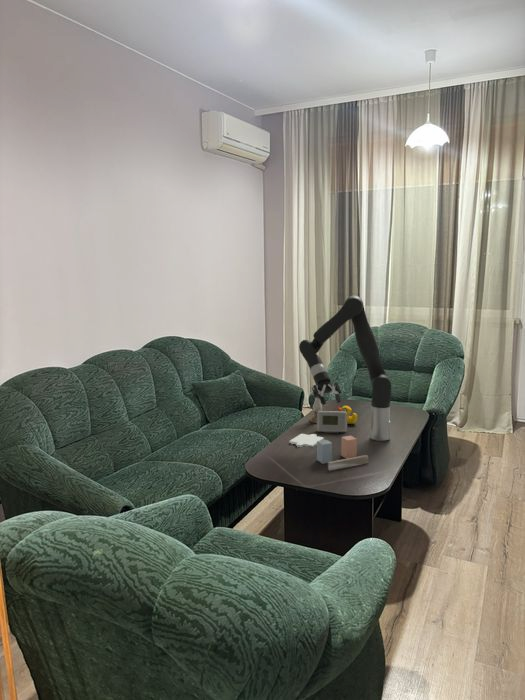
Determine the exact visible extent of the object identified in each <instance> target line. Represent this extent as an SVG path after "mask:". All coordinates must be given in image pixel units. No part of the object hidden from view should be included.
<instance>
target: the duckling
mask: <svg viewBox="0 0 525 700" xmlns="http://www.w3.org/2000/svg"><path fill="white" fill-rule="evenodd" d="M337 411H343V412H347V425H350V424H351V425H352V424H355V423H356V422H357V421H358V414H357V413H355V412H353V410H352V408H351V407H350V406H349V405H343V406H342V407H339V406H338V407H337ZM352 412H353V413H352ZM351 413H352V415H351V416H350V414H351Z"/></svg>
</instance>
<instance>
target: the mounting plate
mask: <svg viewBox="0 0 525 700" xmlns="http://www.w3.org/2000/svg"><path fill="white" fill-rule="evenodd" d="M321 440H325V437H322V436H317V434H316V433H311V434H305V433H300V434H298V435H297V436H295V437H293V438H292V439H290V440H289V443H291V444H290V445H293V444H296V445H295V447H296V446H297V447H296V448H298V447H302V448H304V447H303V446H306V447H305V448H307V447H310V448H311V447H313V448H314V447H315V446H317V441H321Z"/></svg>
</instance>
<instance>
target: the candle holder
mask: <svg viewBox="0 0 525 700" xmlns="http://www.w3.org/2000/svg"><path fill="white" fill-rule="evenodd" d="M314 385H315V384H313V385H311V386H310V389H311V390H312V387H313V386H314ZM317 390H318V389H317ZM319 392H320V390H318V393H319ZM312 410H313V412H312V413H313V414H314V415H313V416H311V417H310V418H309V422H310V423H313V424H317V412H318V411H323V404H322V403H321V401H320V399H319V398H315V397H314V402H313V405H312Z"/></svg>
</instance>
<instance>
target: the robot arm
mask: <svg viewBox="0 0 525 700" xmlns="http://www.w3.org/2000/svg"><path fill="white" fill-rule="evenodd" d="M349 320H351V321H352V324H353V329H354V336H355V340H356V345H357V347H358V350H359V353H360V356H361V357H362V359H363V361H364V364H365V365H366V367H367V371H368V374H369V379H370V383H371V388H372V389H371V391H372V392H371V393H372V395H371V402H370V404H371V406H370V409H371V410H370V439H371V440H373V441H377V442H386V441H388V440H391V425H392V423H391V421H390V414H391V413H390V412H391V410H390V409H391V400H392V382H391V380H390V377H388V376H387V373H386V371H385V369H384V366H383V363H382V360H381V355H380V350H379V345H378V343H377V340H376V339H377V338H376V337H375V334H374V332H373V329H372V327H371V326H370V322H369V321H368V318H367V314H366V310H365V305H364V301H363V300H362V298H361V297H360V296H358V295H350V296H348V297H347V298H346V299H345V301H344V304H343V305H342V306H341V307H340V309H339V310H338V311H337V312H336V313H335V314H334V315H333V316H332V317H331V318H330V319H328V320H327V321H326V322H324V323H323V324H322V325H321V326H320V327H319V328H318V329H317V330H316V331H315V332H314V333H313V335H312V337H313V339H312V341H311V340H309V339H303V340H301V341H300V342H299V347H298V348H299V352H300V353H301V355H302V357H303V358H304V360H305V362H306V363H307V365H308V368H309V371H310V374H311V377H312V378H313V382H314V383H315V384H313V385H314V386H313V387H312V389H311V391H312V393H313V396H314V399H315V398H319V399H320V402H321V405H322V406H325V405H326V404H327V402H326V400H325V396H324V395H325V394H330V395H333V396H334V398H335V400H336V404H339V403H341V401H342V399H341V397H340V394H342V390H341V388H340V386H339V384H338V382H335V383H332V382H331V378H330V376H329V374H328V371H327V369H326V366H325V365H324V363H323V361H322V359H321V357H320V356H319V355H318V354H317V353H318V352H319V351H320V350H321V348H322V347H323V345H324V344H325V343H326V342H327V341H328V340H329V339H330V338H332V336H333V335H334V334H335V333H336V332H337V331H338V330H339V329H340V328H341V327H342V326H343V325H345V323H347V322H348V321H349ZM317 389H318V390H320V392H319V393H318V390H317Z"/></svg>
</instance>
